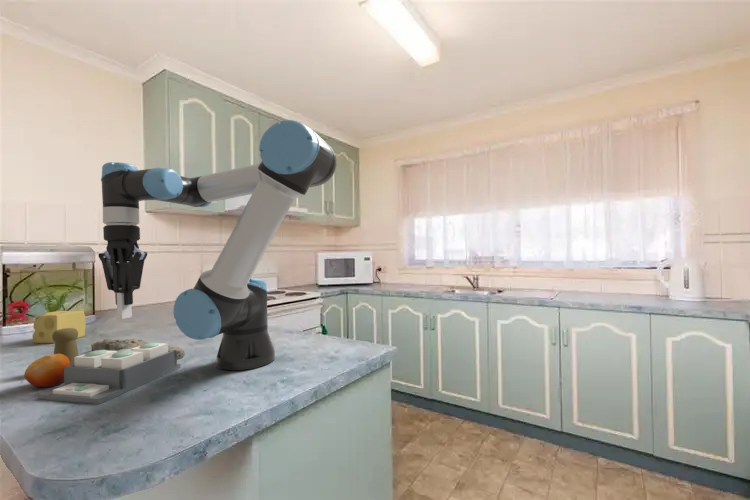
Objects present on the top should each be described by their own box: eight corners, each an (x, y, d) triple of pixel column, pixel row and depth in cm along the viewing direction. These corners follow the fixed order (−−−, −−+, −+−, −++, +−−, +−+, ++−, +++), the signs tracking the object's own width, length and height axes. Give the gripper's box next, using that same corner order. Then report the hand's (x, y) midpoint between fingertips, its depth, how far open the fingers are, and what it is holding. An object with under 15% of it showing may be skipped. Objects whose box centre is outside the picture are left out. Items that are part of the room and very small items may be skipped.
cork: (63, 374, 89) (62, 331, 89) (44, 373, 90) (43, 331, 90) (87, 366, 95) (86, 326, 95) (69, 365, 96) (68, 326, 96)
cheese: (32, 343, 123) (31, 315, 123) (64, 335, 133) (63, 309, 133) (56, 344, 121) (56, 315, 121) (87, 336, 132) (86, 309, 132)
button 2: (143, 364, 83) (143, 350, 83) (121, 372, 77) (121, 357, 77) (123, 363, 84) (123, 349, 84) (101, 371, 79) (101, 356, 79)
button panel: (180, 367, 92) (180, 348, 92) (99, 404, 71) (98, 379, 71) (130, 364, 96) (129, 346, 96) (38, 398, 74) (37, 375, 74)
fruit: (87, 371, 87) (67, 348, 83) (55, 399, 80) (32, 375, 76) (66, 368, 89) (46, 346, 85) (34, 395, 83) (10, 372, 79)
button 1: (117, 363, 84) (117, 349, 84) (94, 371, 79) (94, 356, 79) (98, 362, 86) (98, 348, 86) (74, 370, 80) (74, 355, 80)
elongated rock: (164, 370, 95) (193, 361, 105) (165, 351, 95) (194, 343, 105) (78, 353, 107) (112, 346, 116) (80, 336, 107) (113, 330, 116)
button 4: (168, 355, 90) (167, 341, 90) (150, 362, 85) (149, 348, 85) (150, 354, 91) (149, 341, 91) (130, 361, 86) (130, 347, 86)
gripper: (155, 225, 91) (158, 315, 91) (115, 227, 94) (118, 314, 94) (129, 223, 83) (132, 321, 83) (86, 225, 86) (89, 320, 86)
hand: (124, 317), depth 89 cm, fingers closed
